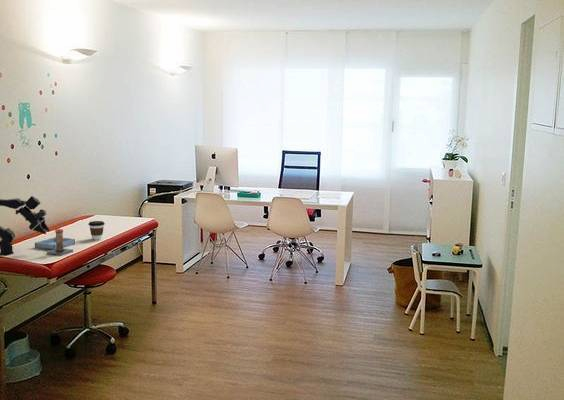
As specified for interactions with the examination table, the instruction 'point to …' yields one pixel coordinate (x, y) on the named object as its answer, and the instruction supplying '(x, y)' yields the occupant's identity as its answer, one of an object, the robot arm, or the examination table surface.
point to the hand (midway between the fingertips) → (47, 232)
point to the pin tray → (53, 243)
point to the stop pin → (59, 240)
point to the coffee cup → (96, 229)
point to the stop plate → (65, 251)
